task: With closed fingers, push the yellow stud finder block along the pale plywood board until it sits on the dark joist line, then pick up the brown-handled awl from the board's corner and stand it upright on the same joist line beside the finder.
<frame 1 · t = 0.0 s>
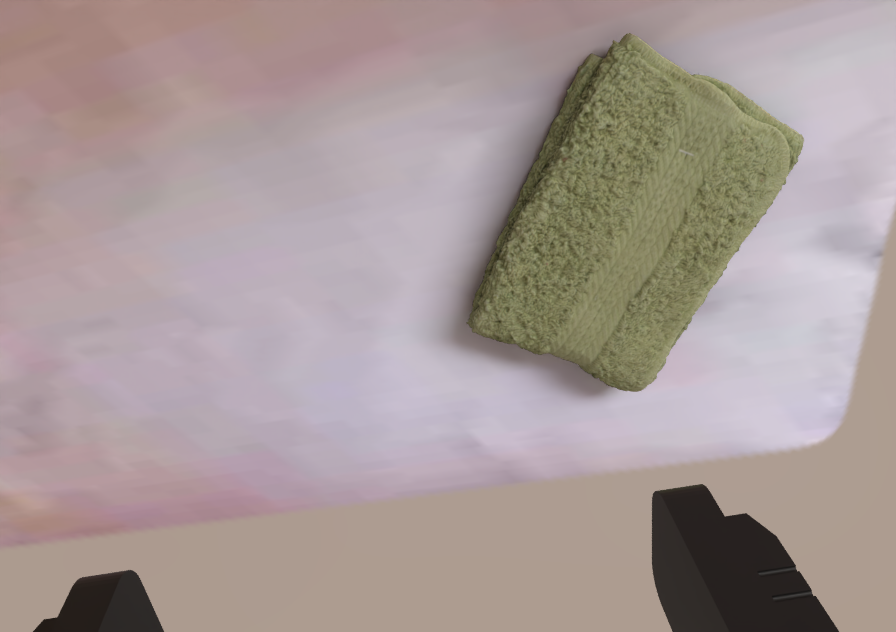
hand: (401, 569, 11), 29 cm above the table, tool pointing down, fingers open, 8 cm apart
washcloth: (617, 221, 41), on the table
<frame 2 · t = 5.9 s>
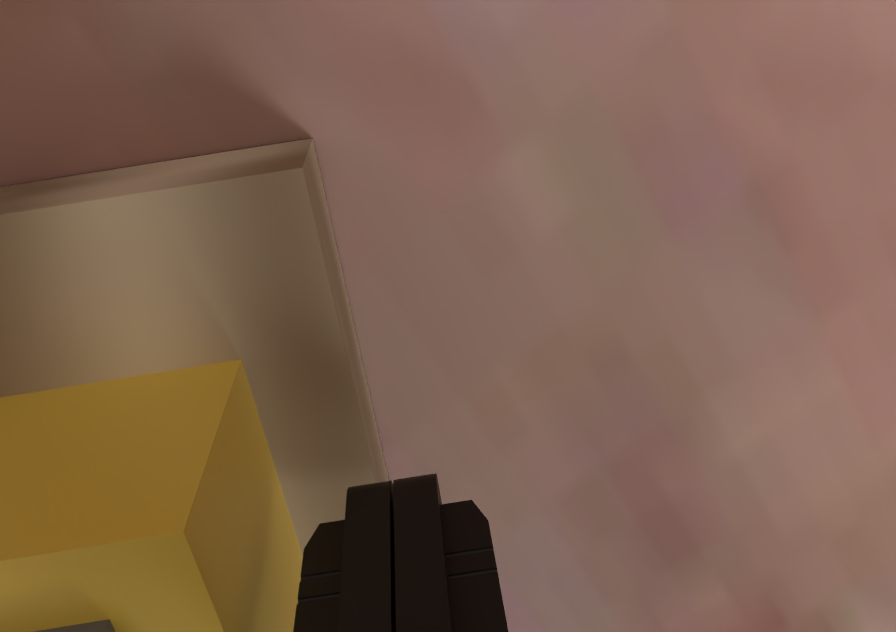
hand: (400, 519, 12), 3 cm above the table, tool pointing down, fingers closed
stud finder: (96, 527, 14), point 2 cm above the table, touching gripper, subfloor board
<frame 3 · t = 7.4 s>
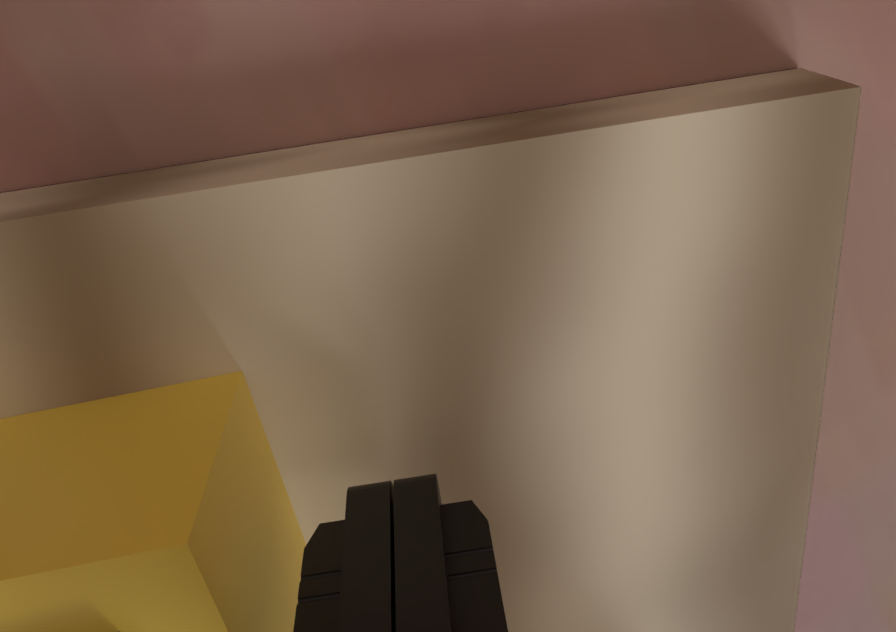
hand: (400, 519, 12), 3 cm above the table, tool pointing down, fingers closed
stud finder: (109, 539, 14), point 2 cm above the table, touching gripper
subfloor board: (203, 564, 17), on the table
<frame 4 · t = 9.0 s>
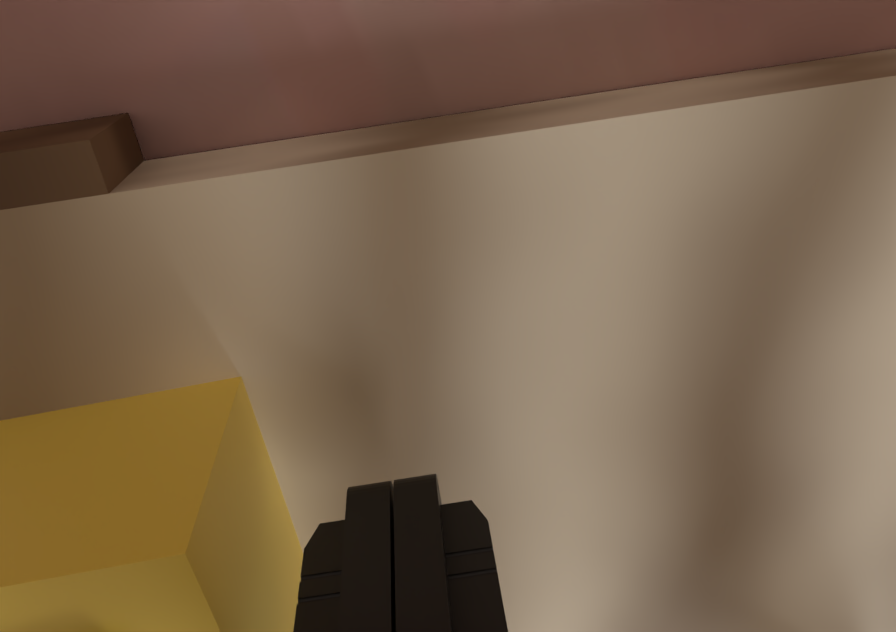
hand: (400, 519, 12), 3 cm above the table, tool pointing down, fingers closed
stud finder: (104, 543, 14), point 2 cm above the table, touching gripper, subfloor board
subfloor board: (425, 526, 17), on the table
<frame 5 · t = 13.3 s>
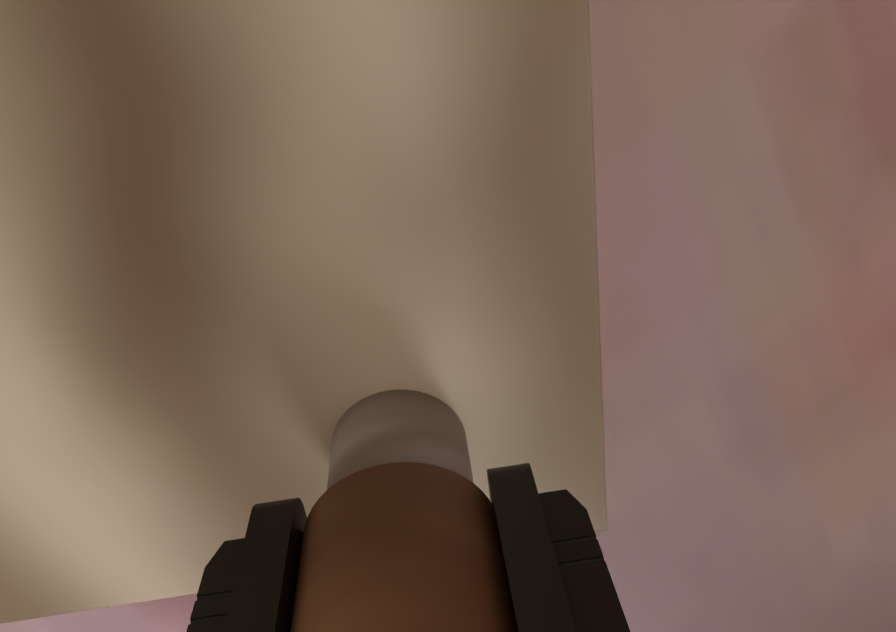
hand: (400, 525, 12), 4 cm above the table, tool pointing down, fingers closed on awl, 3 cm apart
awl: (399, 446, 14), point 2 cm above the table, touching gripper, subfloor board
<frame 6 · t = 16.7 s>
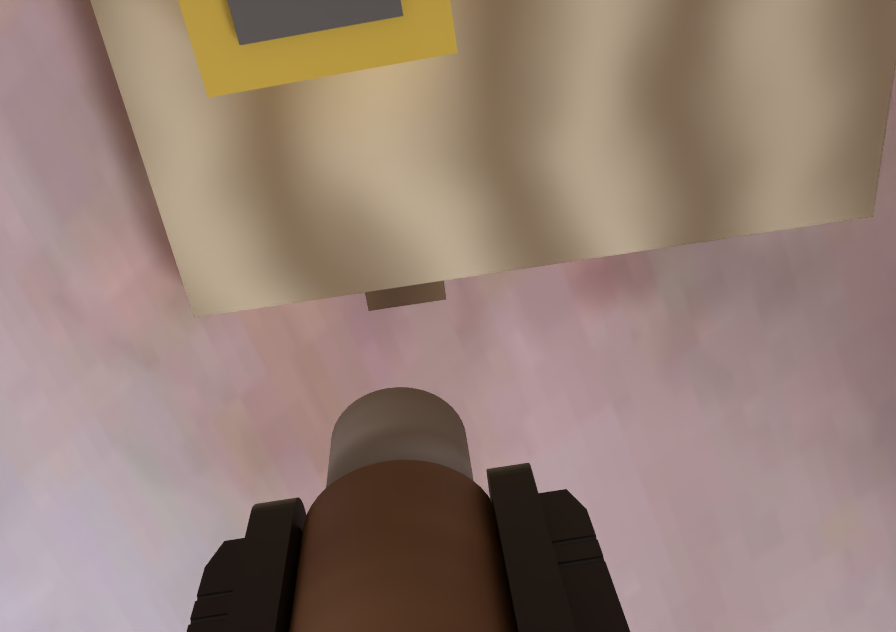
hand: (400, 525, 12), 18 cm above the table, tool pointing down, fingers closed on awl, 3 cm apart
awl: (399, 444, 14), point 15 cm above the table, touching gripper
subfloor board: (506, 7, 25), on the table
when the fingers open (5 cm above the table, at t = 19.7 s): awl drops 1 cm, resting on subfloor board.
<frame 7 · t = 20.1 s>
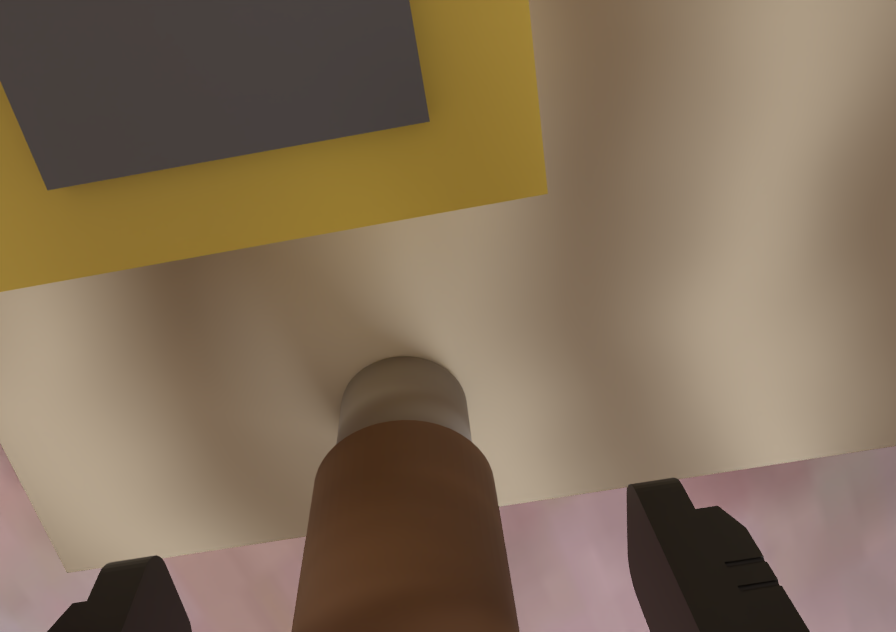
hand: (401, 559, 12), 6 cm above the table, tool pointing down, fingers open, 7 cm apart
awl: (404, 409, 15), point 2 cm above the table, touching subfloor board
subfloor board: (603, 63, 14), on the table
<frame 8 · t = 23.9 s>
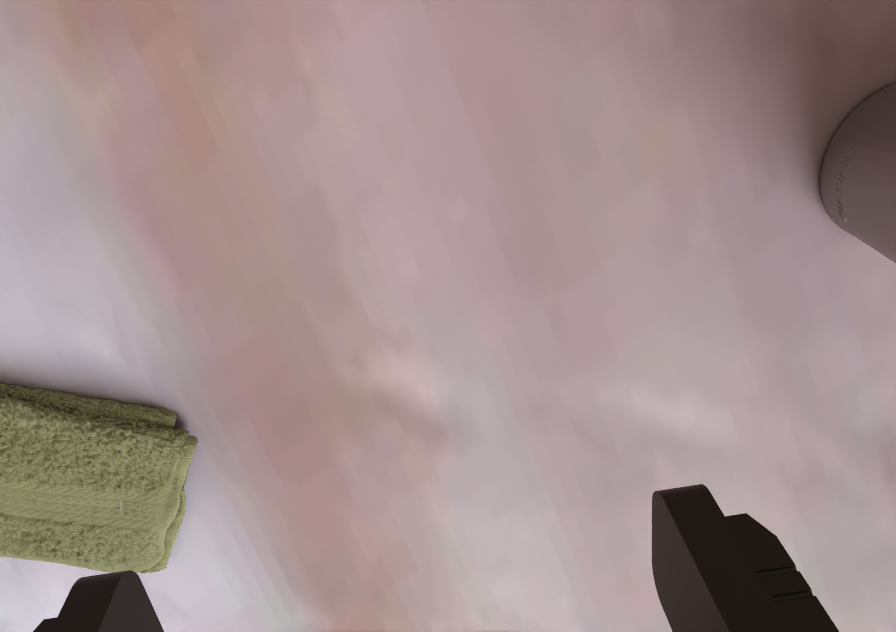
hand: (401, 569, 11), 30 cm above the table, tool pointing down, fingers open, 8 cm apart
washcloth: (51, 462, 47), on the table
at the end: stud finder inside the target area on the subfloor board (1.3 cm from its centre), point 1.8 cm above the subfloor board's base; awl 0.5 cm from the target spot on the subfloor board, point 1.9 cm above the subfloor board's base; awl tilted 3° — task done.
